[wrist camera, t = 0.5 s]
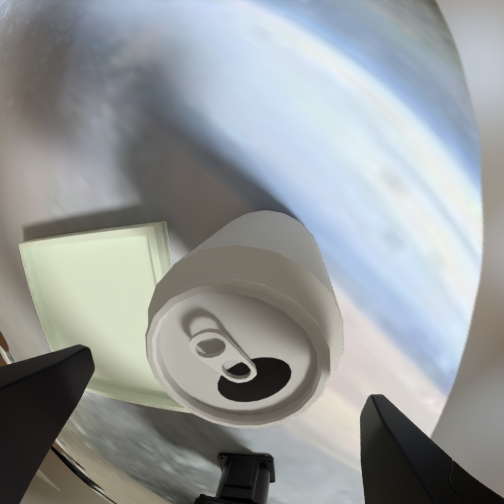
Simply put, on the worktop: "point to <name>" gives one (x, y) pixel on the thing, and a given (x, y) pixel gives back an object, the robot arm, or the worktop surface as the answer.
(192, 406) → the can
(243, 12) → the worktop surface
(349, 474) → the worktop surface
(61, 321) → the tray
